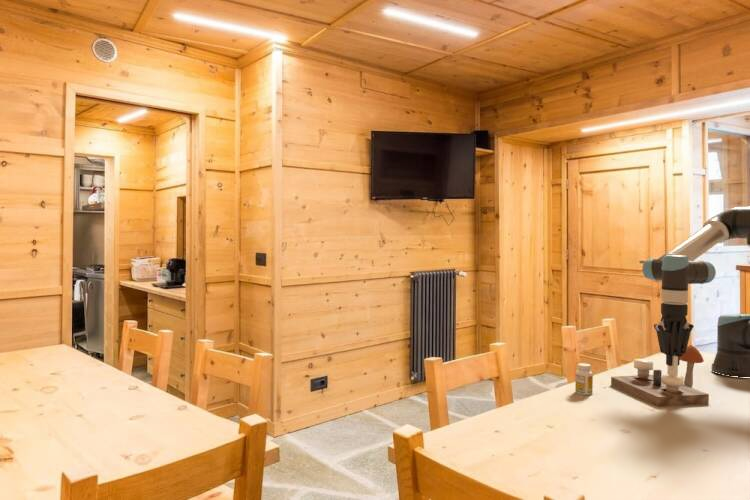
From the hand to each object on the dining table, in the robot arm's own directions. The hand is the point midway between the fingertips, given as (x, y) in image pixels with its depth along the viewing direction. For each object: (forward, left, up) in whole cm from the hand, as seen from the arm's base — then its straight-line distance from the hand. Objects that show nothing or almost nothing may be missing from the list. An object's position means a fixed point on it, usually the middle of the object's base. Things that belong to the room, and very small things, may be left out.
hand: (672, 375), depth 172 cm
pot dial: (0, -7, -5) cm, 9 cm away
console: (0, -7, -8) cm, 11 cm away
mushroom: (-17, -12, -8) cm, 23 cm away
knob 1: (0, -14, -4) cm, 15 cm away
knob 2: (0, 0, -6) cm, 6 cm away
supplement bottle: (+24, -12, -8) cm, 28 cm away
